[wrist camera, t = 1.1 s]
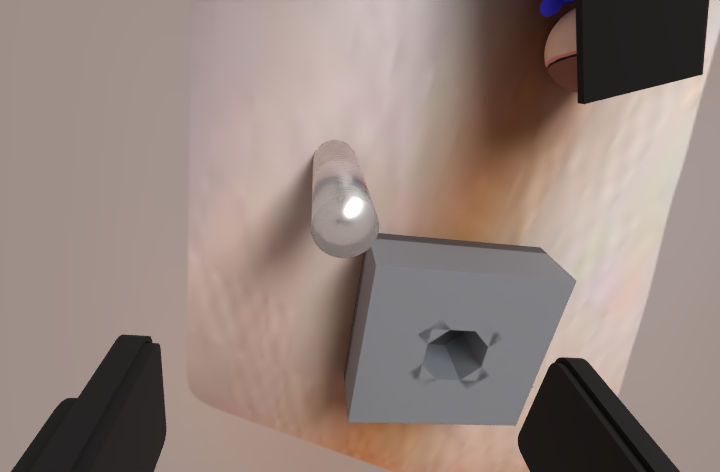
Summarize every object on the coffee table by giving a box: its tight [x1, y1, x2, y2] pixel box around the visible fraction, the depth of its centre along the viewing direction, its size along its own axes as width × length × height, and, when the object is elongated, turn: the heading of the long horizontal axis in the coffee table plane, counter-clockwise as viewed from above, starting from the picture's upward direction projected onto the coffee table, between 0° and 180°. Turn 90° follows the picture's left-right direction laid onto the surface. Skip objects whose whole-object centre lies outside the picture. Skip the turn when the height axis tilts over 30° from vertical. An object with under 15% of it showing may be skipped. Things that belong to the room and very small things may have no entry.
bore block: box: [344, 233, 576, 426], centre depth 32 cm, size 14×14×5 cm
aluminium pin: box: [311, 140, 379, 258], centre depth 23 cm, size 3×3×11 cm
